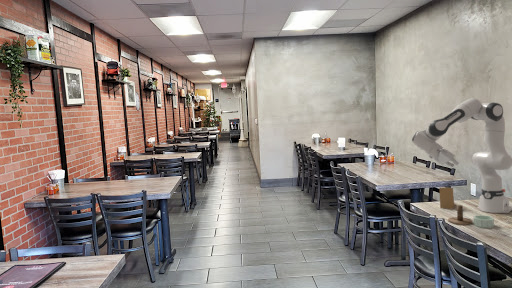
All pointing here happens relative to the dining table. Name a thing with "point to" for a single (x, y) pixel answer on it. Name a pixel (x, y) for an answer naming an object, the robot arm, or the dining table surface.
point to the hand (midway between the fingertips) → (455, 165)
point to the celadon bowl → (483, 221)
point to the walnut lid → (460, 217)
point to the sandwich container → (446, 197)
